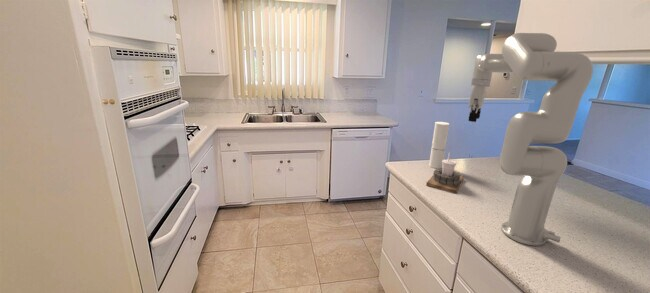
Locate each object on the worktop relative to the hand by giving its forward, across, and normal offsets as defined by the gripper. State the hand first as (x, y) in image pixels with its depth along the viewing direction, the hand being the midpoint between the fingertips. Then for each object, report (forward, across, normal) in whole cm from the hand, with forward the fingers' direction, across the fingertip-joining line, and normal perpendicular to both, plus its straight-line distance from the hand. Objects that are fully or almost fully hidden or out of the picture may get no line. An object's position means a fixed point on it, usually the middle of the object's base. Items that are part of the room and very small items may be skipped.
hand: (473, 119), depth 130 cm
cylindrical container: (+31, -9, -16) cm, 35 cm away
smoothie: (+29, +12, -6) cm, 32 cm away
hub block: (+30, +12, -6) cm, 33 cm away
